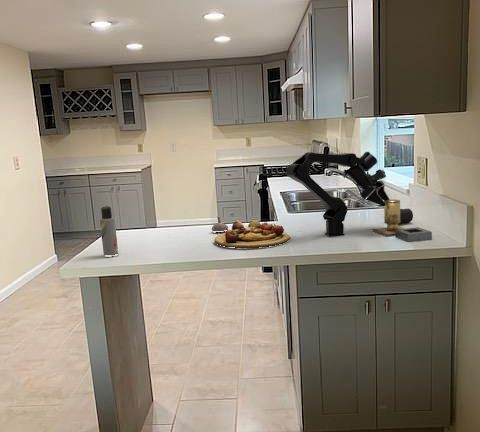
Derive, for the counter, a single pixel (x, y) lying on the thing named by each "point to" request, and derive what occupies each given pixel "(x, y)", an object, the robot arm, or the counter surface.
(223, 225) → the garlic bulb
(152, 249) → the counter surface
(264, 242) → the wooden plate with food
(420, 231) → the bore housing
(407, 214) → the end cap
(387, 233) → the walnut board
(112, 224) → the lotion bottle
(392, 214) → the end plug
